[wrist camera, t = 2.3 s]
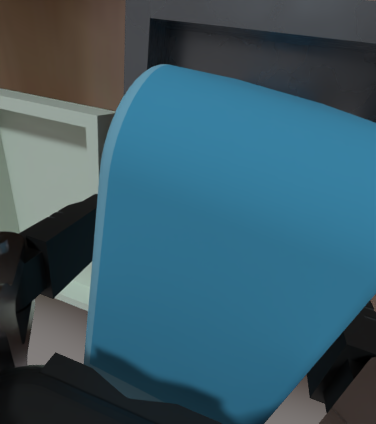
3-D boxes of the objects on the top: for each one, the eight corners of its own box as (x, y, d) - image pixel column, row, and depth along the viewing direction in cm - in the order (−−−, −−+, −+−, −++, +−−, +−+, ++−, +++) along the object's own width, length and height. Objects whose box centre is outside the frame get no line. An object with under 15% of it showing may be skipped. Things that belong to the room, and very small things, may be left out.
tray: (119, 112, 17) (97, 115, 15) (117, 297, 25) (102, 316, 22) (-10, 86, 19) (-45, 86, 17) (25, 263, 27) (4, 278, 25)
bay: (448, 29, 11) (501, 11, 8) (300, 325, 19) (303, 361, 17) (155, 0, 14) (126, -20, 11) (138, 270, 22) (119, 294, 20)
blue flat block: (240, 277, 19) (193, 511, 8) (183, 253, 19) (74, 443, 9) (322, 103, 13) (504, 166, 3) (236, 78, 14) (100, 47, 3)
